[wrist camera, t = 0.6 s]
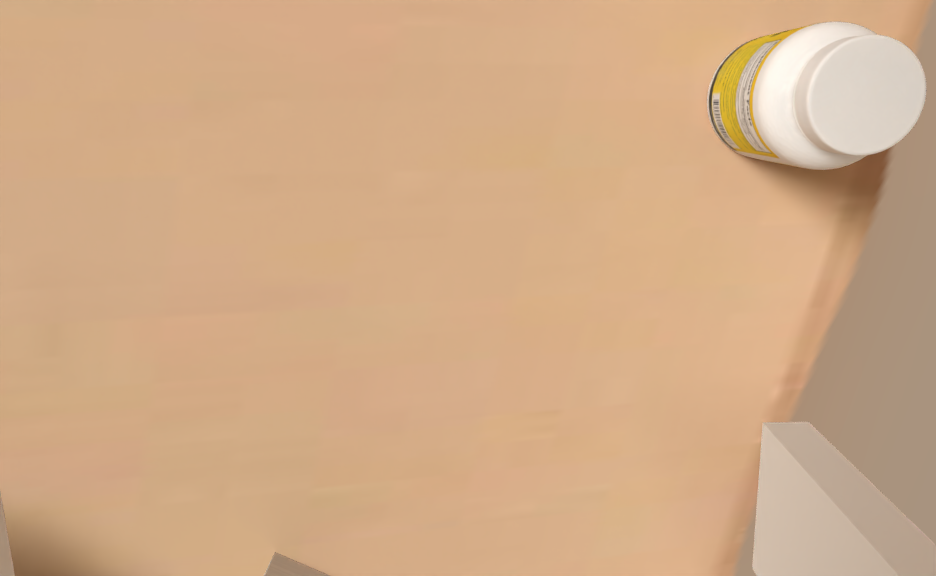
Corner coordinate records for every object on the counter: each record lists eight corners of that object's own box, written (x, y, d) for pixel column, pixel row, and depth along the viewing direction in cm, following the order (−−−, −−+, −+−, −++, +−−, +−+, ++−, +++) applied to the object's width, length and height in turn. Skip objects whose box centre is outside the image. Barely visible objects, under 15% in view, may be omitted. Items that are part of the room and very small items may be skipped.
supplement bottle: (845, 66, 35) (982, 56, 26) (784, 176, 36) (893, 205, 27) (740, 14, 35) (840, -16, 25) (682, 127, 36) (756, 139, 26)
